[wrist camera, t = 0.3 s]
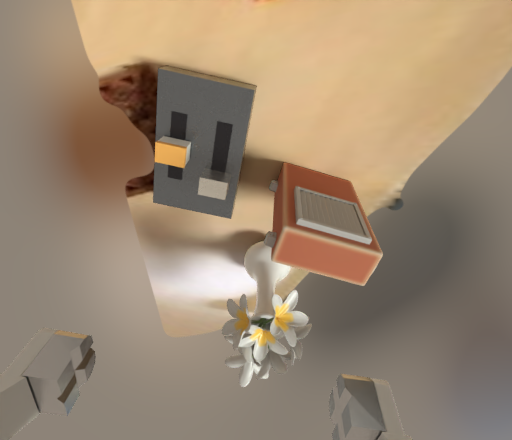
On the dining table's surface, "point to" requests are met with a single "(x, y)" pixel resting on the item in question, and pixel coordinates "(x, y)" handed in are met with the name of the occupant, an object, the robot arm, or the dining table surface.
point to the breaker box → (202, 139)
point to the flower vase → (264, 321)
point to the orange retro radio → (321, 226)
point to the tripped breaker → (172, 151)
